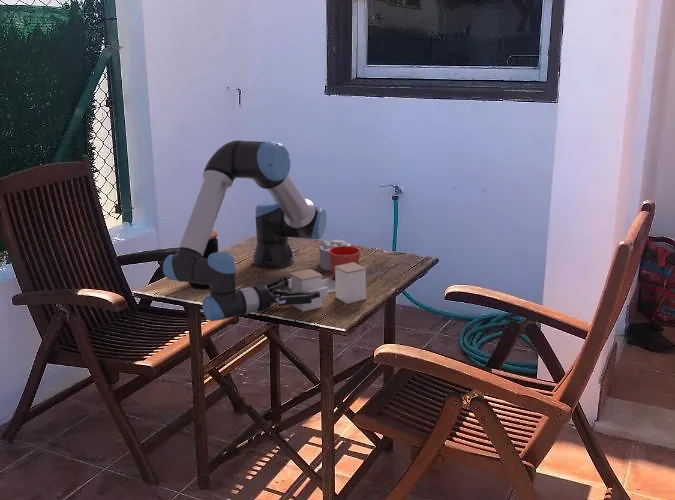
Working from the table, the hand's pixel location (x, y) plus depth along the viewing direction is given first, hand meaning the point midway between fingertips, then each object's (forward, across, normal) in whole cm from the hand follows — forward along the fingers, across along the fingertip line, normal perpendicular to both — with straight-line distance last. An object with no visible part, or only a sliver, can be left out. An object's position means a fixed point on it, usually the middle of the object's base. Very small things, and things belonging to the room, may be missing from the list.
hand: (316, 285), depth 228 cm
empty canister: (+11, +2, -6) cm, 13 cm away
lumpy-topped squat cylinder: (+26, -31, -6) cm, 41 cm away
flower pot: (+21, -17, -6) cm, 28 cm away
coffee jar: (-23, -37, -6) cm, 44 cm away
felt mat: (+9, -12, -6) cm, 16 cm away
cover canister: (-4, 0, -6) cm, 7 cm away
